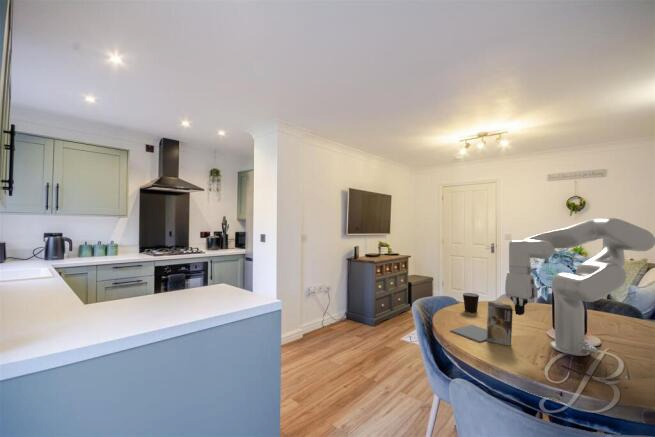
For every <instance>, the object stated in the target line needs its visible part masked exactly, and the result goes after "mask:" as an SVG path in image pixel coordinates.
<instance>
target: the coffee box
mask: <svg viewBox="0 0 655 437" xmlns="http://www.w3.org/2000/svg"><path fill="white" fill-rule="evenodd" d="M487 302H488V303H487V319H486V320H487V321H486V330H487V342H490V343H495V344H500V345H505V346H510V347H511V346H512V333H513V330H512V329H513V314H514V312H513V307H512V306H511V304H505V303H503V304H500V303H493V302H490V301H487Z"/></svg>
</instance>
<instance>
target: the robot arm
mask: <svg viewBox="0 0 655 437" xmlns="http://www.w3.org/2000/svg"><path fill="white" fill-rule="evenodd" d="M601 239H602V248H601V251H600V252H599V253H598V254H596V255H594V256H592V257H591V258H589V259H587V260H585V261H584V262H582V263H581V264H579V265H578V266H577V267H576V270H575V273H572V272H559V273H557V274H555V275H554V276H553V277H552V280H551V289H552V292H553V297H554V298H553V300H554V340H552V341H551V342H550V347H551V348H552V349H554V350H555V351H558V352H561V353H562V354H563V353H564V354H568V355H570V356H576V357H577V356H579V357H583V356H589V355H590V354H593V355H597V354H598V353H599V352H598V349H597V348H596V347H595V346H593V345H589V344H588V341H587V340H585V306H584V302H586V303H594V302H596V301H599V300H601V299H603V298H604V297H606V296H608V295H609V294H612V293H613V292H616V291H617V290H619V289H620V288H621V287H622V286H624V284H625V282H626V280H627V272H626V270H625V269H624V266H625V262H626V260H625V251H631V252H632V251H633V252H634V251H635V252H647V251H651V249H653V248H654V246H655V236H654V234H653V233H652V232H650V231H649V230H647V229H645V228H642V227H641V226H638V225H635V224H633V223H630V222H628V221H626V220H624V219H623V220H622V219H619V218H615V217H598V218H597V217H595V218H591V219H588V220H585V221H582V222H578V223H575V224H573V225H570V226H567V227H564V228H560V229H556V230H555V229H554V230H552V231H546V232H542V233H539V234H536V235H533V236H530V237H526V238H525V239H522V240H516V239H514V240H510V241H509V243H508V271H507V273H506V279H505V285H504V286H505V287H504V289H505V290H504V291H505V297H506V298H507V299H510V300H511V302H513V304H514V311H515V312H514V313H515V315H517V316H524V314H525V306H526V305H527V304H534V303H535V298H536V297H537V294H536V293H537V292H536V284H535V278H534V275H533V274H531V273H534V272H535V269H533V268H532V267H531V259H533V258H535V259H540V260H543V259H544V260H546V259H549V258H551V257H552V256H554V254H555V249H570V248H571V249H573V248H577V247H580V246H582V245H585V244H588V243H591V242H594V241H598V240H601Z"/></svg>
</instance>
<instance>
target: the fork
mask: <svg viewBox="0 0 655 437" xmlns="http://www.w3.org/2000/svg"><path fill="white" fill-rule="evenodd" d="M560 366H561V367H563V368H566V369H568V370H570V371H573V372H576V373H578V374H581V375H583V374H584V376H586V375H587V377H589V376H590V377H589V378H593V379H595V378H596V379H595V380H597V379H598V380H597V381H600V380H599V379H600V378H599V377H595V376H593V375H591V374H588V373H587V372H583V371H582V370H578V369H575V368H572V367H569V366H567V365H563V364H561V365H560ZM608 382H609V383H607V382H605V383H606V384H605V385H614V384H618V383H620V382H621V380H615V381H608Z"/></svg>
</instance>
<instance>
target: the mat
mask: <svg viewBox="0 0 655 437" xmlns="http://www.w3.org/2000/svg"><path fill="white" fill-rule="evenodd" d="M450 333H453V334H456V335H459V336H461V337H464V338H466V337H467V339H469V340H472V341H475V342H477V343H483V342H486V341H487V328H483V327H481V326H480V327H479V326H477V325H474V324H469V325H465V326H462V327H461V326H460V327H457V328H453V329H450ZM487 342H488V341H487Z"/></svg>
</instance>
